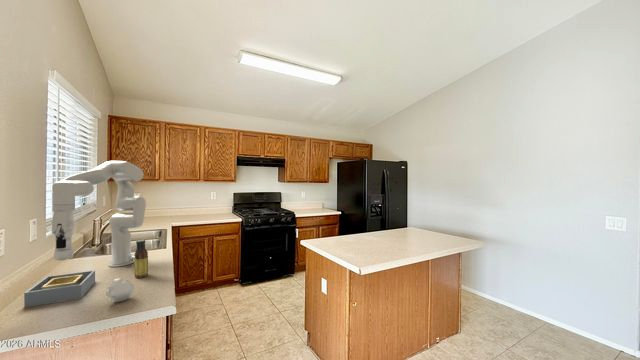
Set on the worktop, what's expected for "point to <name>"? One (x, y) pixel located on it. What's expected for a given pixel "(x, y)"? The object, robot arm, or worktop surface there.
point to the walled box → (58, 290)
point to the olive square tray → (63, 282)
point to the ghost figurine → (120, 290)
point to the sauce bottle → (141, 260)
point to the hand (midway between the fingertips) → (64, 246)
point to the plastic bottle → (68, 251)
